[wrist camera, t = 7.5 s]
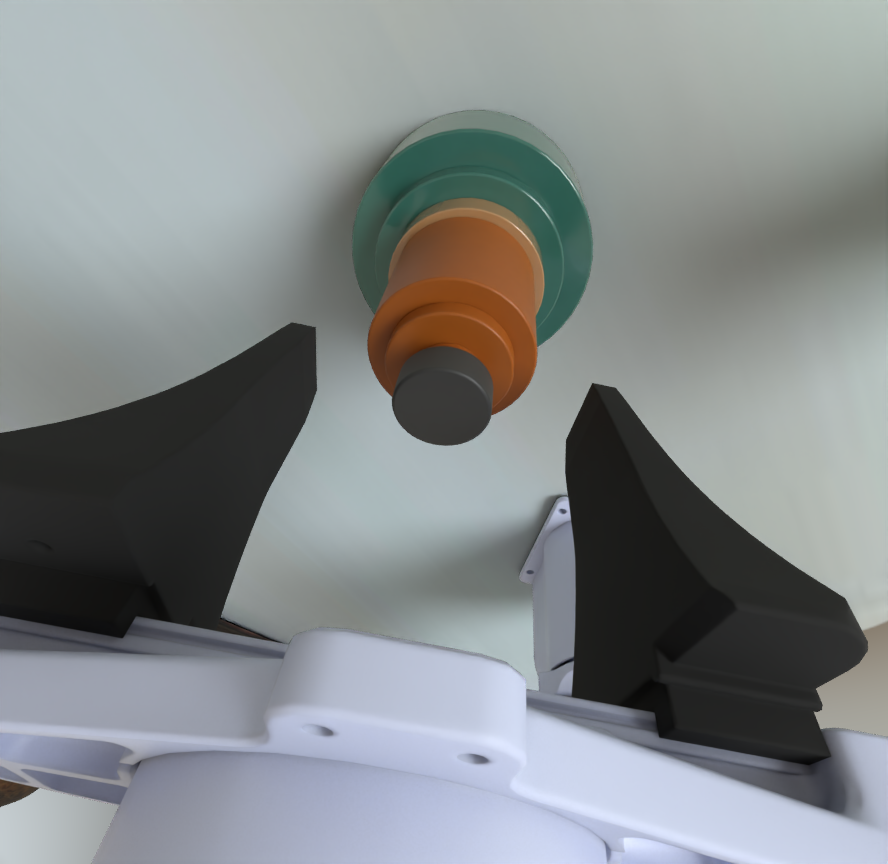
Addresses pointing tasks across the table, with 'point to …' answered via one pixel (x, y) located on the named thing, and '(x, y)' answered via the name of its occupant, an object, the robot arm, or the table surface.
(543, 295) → the green round container
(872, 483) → the table surface
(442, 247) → the amber bottle
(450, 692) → the robot arm
